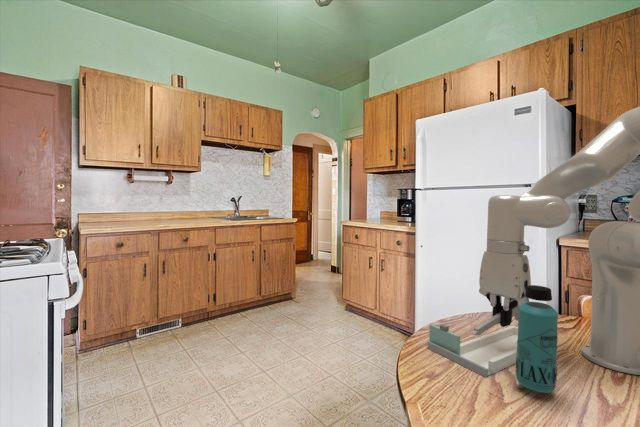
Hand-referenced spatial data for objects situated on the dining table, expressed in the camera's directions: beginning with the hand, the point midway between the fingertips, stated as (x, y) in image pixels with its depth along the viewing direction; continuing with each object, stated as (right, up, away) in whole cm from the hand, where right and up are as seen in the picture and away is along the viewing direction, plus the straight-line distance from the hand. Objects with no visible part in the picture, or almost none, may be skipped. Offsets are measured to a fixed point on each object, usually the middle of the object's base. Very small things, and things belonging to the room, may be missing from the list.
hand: (501, 323), depth 75 cm
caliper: (-1, -1, -1) cm, 1 cm away
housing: (-2, -7, +2) cm, 7 cm away
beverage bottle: (-2, -8, -15) cm, 17 cm away
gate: (-14, -6, 0) cm, 15 cm away
